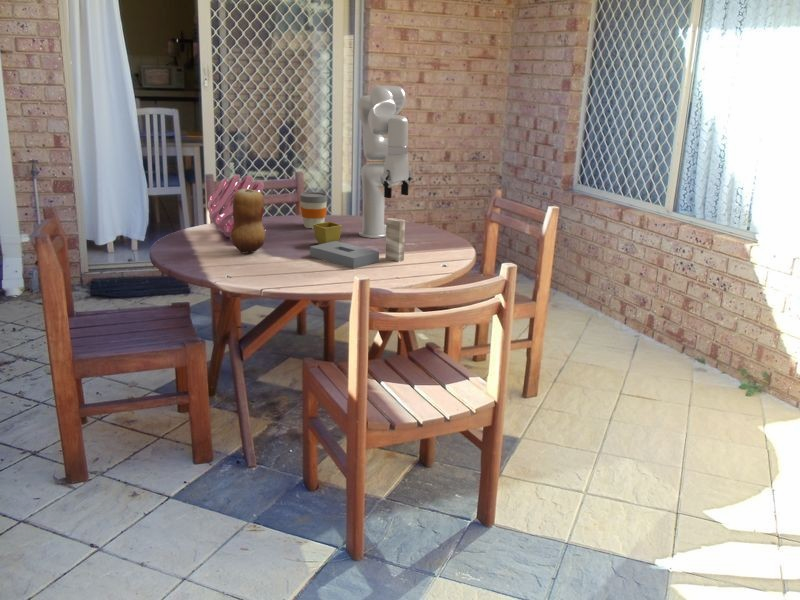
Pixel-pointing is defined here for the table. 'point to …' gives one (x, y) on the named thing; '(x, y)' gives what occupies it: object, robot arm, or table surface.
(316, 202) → the reusable coffee cup
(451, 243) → the table surface
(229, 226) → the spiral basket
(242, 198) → the butternut squash
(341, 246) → the grey slotted tile
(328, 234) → the flower pot
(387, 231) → the pine slat
